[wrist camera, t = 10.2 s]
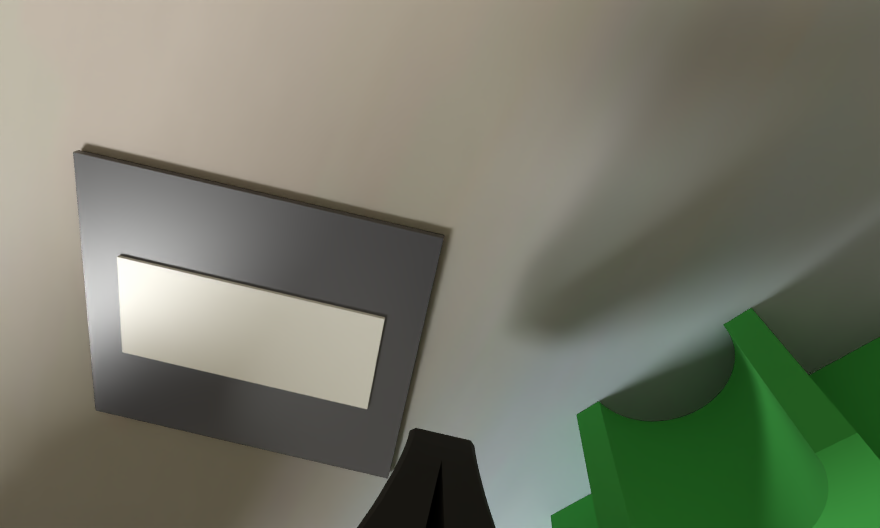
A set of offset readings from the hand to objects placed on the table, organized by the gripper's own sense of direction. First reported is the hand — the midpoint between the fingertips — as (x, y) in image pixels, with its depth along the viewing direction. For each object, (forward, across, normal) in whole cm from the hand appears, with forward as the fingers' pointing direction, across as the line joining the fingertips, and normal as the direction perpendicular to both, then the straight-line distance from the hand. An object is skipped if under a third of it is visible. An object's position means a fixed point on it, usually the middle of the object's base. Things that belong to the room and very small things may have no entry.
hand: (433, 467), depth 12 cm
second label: (+3, +5, 0) cm, 6 cm away
